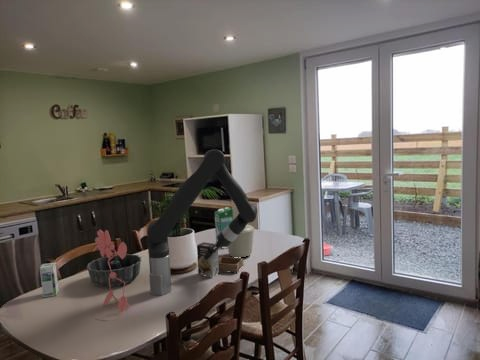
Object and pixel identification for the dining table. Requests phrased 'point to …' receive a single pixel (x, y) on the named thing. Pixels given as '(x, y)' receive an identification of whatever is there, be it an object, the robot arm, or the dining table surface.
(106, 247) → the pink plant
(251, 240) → the canister
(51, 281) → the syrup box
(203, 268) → the coffee box
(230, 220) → the milk carton
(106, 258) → the bundt pan
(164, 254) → the robot arm
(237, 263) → the walnut crate
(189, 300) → the dining table surface
